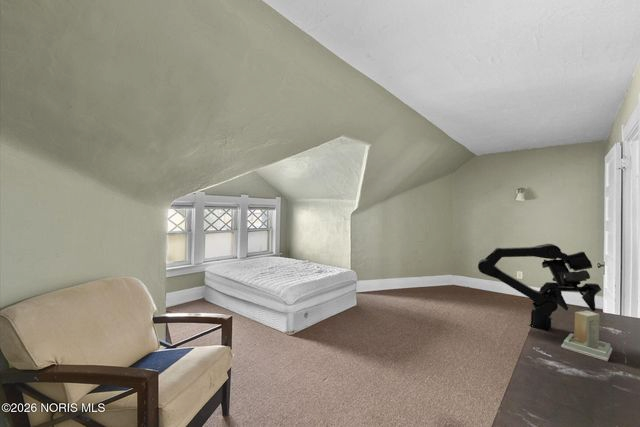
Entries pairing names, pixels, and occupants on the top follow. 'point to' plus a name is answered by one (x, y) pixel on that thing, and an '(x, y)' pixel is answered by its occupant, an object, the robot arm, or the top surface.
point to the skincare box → (586, 329)
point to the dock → (600, 352)
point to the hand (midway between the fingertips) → (580, 310)
